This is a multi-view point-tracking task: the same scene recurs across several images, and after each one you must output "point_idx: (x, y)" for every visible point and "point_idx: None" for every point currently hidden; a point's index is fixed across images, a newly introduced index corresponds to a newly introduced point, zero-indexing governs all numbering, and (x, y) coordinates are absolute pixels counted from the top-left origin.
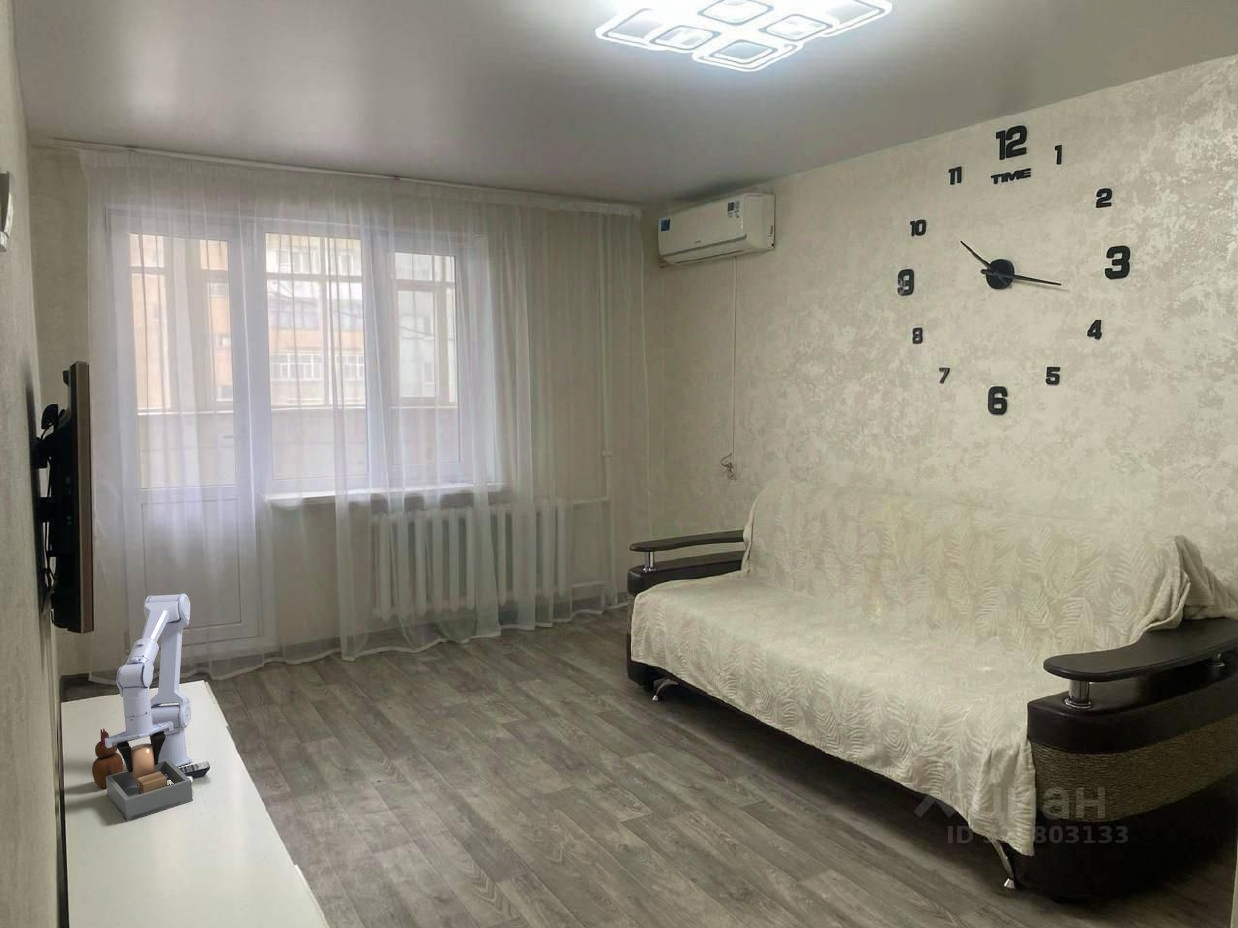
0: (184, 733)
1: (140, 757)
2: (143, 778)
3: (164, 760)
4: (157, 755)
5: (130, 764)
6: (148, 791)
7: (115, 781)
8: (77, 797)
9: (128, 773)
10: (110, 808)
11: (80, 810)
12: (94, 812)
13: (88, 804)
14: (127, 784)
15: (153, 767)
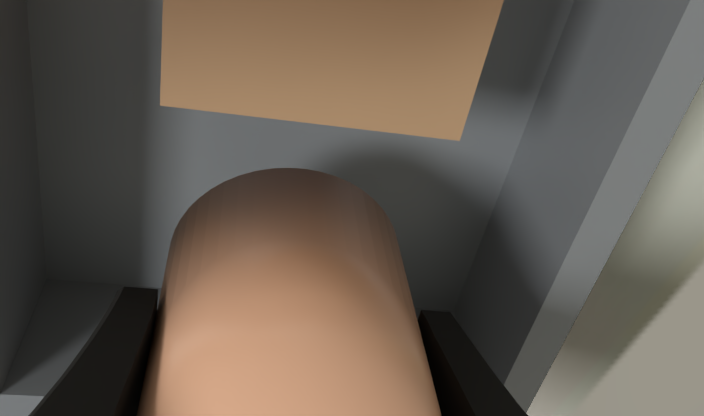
0: None
1: (379, 399)
2: (421, 61)
3: (3, 402)
4: (94, 370)
5: (472, 376)
6: None
7: (542, 304)
8: (560, 410)
9: None
10: None
11: (682, 247)
12: (677, 144)
13: (599, 290)
14: None
15: (192, 253)
